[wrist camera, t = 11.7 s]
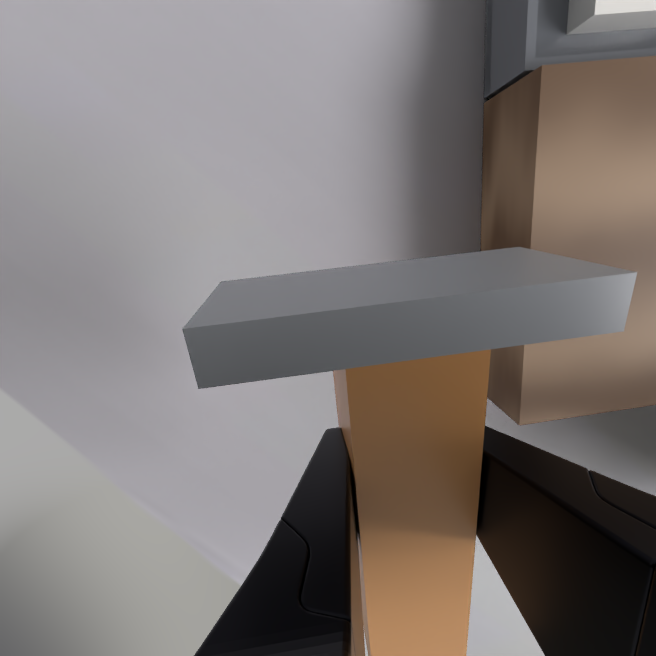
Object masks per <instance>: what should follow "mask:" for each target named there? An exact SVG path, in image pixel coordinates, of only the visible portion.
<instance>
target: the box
mask: <svg viewBox="0 0 656 656" xmlns="http://www.w3.org/2000/svg"><path fill="white" fill-rule="evenodd" d="M568 9H569V0H486V31H485V76H484V98H493V97H494V96H496V95H497V94H499V93H500V92H502V91H503V90H505V89H506V88H508V87H509V86H511V85H512V84H514V83H516V82H517V81H519V80H520V79H522V78H523V77H525V76H526V75H528V74H529V73H531V72H532V71H534V70H535V69H537V68H539V67H540V66H542V65H551V64H563V63H575V62H587V61H599V60H611V59H623V58H635V57H647V56H656V28H645V29H632V30H619V31H607V32H594V33H581V34H569V35H567V22H568Z"/></svg>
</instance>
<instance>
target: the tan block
mask: <svg viewBox="0 0 656 656" xmlns="http://www.w3.org/2000/svg"><path fill="white" fill-rule="evenodd" d="M513 247H523V248H527V249H532V250H537V251H541V252H546V253H550V254H555V255H560V256H564V257H569V258H574V259H578V260H583V261H588V262H592V263H597V264H601V265H606V266H611V267H615V268H620V269H625V270H629V271H634V272H637V276H636V280H635V285H634V289H633V293H632V298H631V302H630V306H629V311H628V315H627V319H626V324H625V328H624V331H623V332H615V333H608V334H601V335H593V336H586V337H578V338H571V339H564V340H556V341H549V342H541V343H534V344H527V345H519V346H512V347H504V348H497V349H491V355H490V368H489V380H488V392H487V398H489V399H490V400H491V401H492V402H493V403H494V404H495V405H497V406H498V407H499V408H500V409H501V410H502V411H503V412H505V413H506V414H507V415H508V416H509V417H510V418H511V419H513V420H514V421H515V422H516V423H517V424H518V425H526V424H532V423H539V422H545V421H552V420H559V419H565V418H572V417H578V416H585V415H592V414H598V413H605V412H612V411H618V410H625V409H631V408H638V407H645V406H651V405H656V56H647V57H635V58H623V59H611V60H599V61H587V62H575V63H563V64H551V65H542V66H540V67H539V68H537V69H535V70H534V71H532V72H531V73H529V74H528V75H526V76H525V77H523V78H522V79H520V80H519V81H517V82H516V83H514V84H512V85H511V86H509V87H508V88H506V89H505V90H503V91H502V92H500V93H499V94H497V95H496V96H494V97H493V98H491V99H490V100H488V101H486V102H485V103H484V121H483V165H482V210H481V251H487V250H496V249H504V248H513Z"/></svg>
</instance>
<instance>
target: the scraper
mask: <svg viewBox="0 0 656 656" xmlns="http://www.w3.org/2000/svg"><path fill="white" fill-rule="evenodd" d="M636 276H637V272H634V271H629V270H625V269H620V268H615V267H611V266H606V265H601V264H597V263H592V262H588V261H583V260H578V259H574V258H569V257H564V256H560V255H555V254H550V253H546V252H541V251H537V250H532V249H527V248H523V247H513V248H504V249H496V250H487V251H479V252H470V253H462V254H453V255H445V256H436V257H428V258H419V259H410V260H402V261H393V262H385V263H376V264H368V265H359V266H351V267H342V268H334V269H325V270H317V271H308V272H300V273H291V274H283V275H274V276H266V277H257V278H249V279H240V280H232V281H223V282H221V283H220V284H219V285H218V286H217V287H216V289H215V290H214V291H213V292H212V294H211V295H210V296H209V297H208V298H207V300H206V301H205V302H204V303H203V305H202V306H201V307H200V308H199V309H198V311H197V312H196V313H195V314H194V315H193V317H192V318H191V319H190V320H189V322H188V323H187V324H186V325H185V326H184V328H183V333H184V337H185V340H186V344H187V348H188V351H189V355H190V359H191V363H192V366H193V370H194V374H195V378H196V381H197V385H198V389H201V388H208V387H216V386H223V385H231V384H238V383H245V382H253V381H260V380H268V379H275V378H282V377H290V376H297V375H305V374H312V373H319V372H327V371H333V375H334V385H335V394H336V404H337V414H338V423H339V427H340V428H342V432H343V435H344V439H345V442H346V446H347V449H348V453H349V457H350V463H351V473H352V483H353V493H354V502H355V512H356V522H357V532H358V548H359V564H360V581H361V597H362V614H363V626H364V632H365V638H366V644H367V650H368V656H466V651H467V639H468V626H469V614H470V602H471V589H472V577H473V565H474V552H475V540H476V528H477V515H478V503H479V491H480V479H481V466H482V454H483V442H484V429H485V417H486V405H487V392H488V380H489V368H490V355H491V349H497V348H504V347H512V346H519V345H527V344H534V343H541V342H549V341H556V340H564V339H571V338H578V337H586V336H593V335H601V334H608V333H615V332H623V331H624V328H625V324H626V319H627V315H628V311H629V306H630V302H631V298H632V293H633V289H634V285H635V280H636Z"/></svg>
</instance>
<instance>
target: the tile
mask: <svg viewBox="0 0 656 656" xmlns="http://www.w3.org/2000/svg"><path fill="white" fill-rule="evenodd" d="M645 28H656V0H569V9H568V22H567V35H569V34H581V33H594V32H607V31H619V30H632V29H645Z"/></svg>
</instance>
